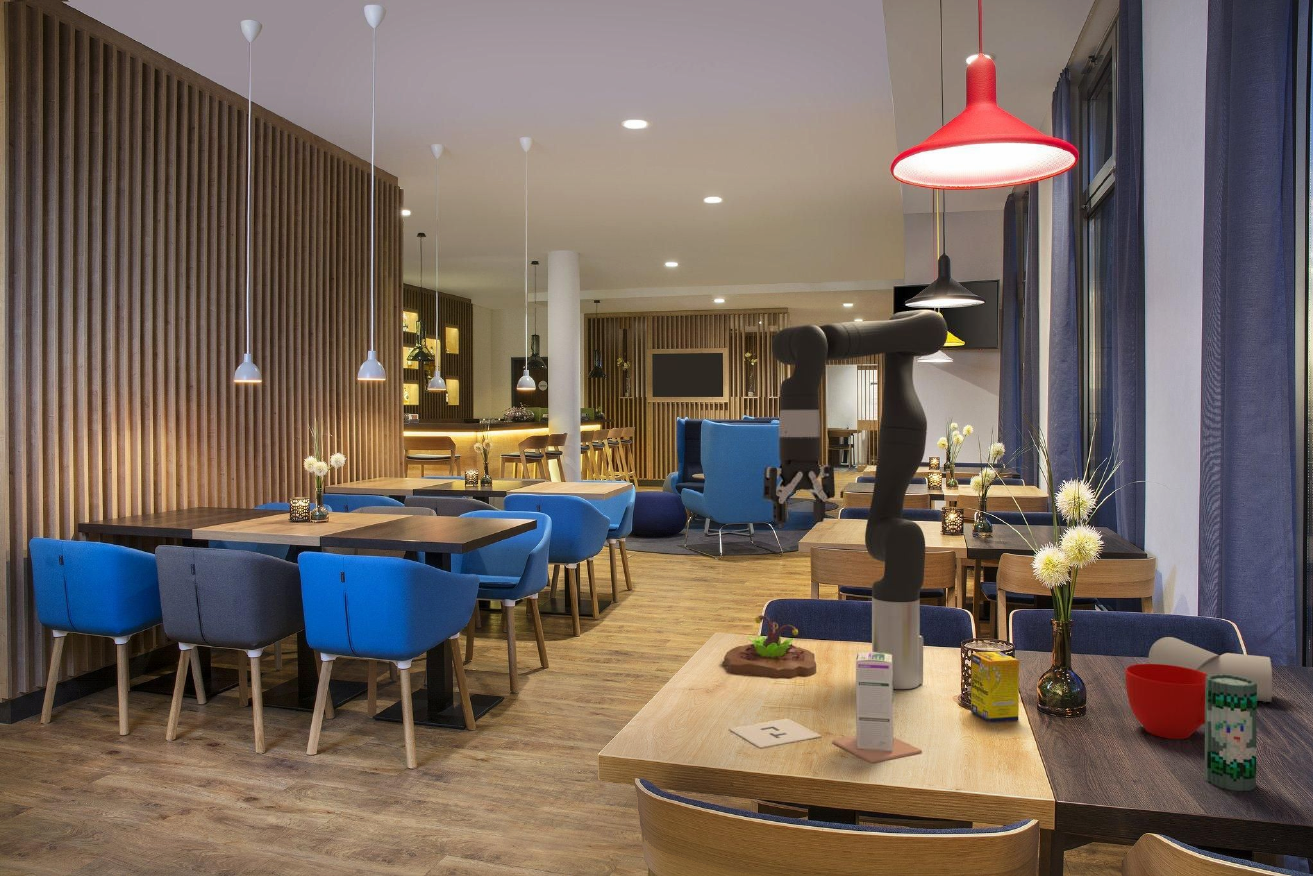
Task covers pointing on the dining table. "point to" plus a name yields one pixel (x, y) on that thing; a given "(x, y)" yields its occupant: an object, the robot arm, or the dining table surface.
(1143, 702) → the ceramic cup
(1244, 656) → the elbow connector
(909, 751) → the coaster
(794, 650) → the plant
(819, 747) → the dining table surface
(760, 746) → the white square plate
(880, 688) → the syrup box
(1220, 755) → the can
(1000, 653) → the supplement box
